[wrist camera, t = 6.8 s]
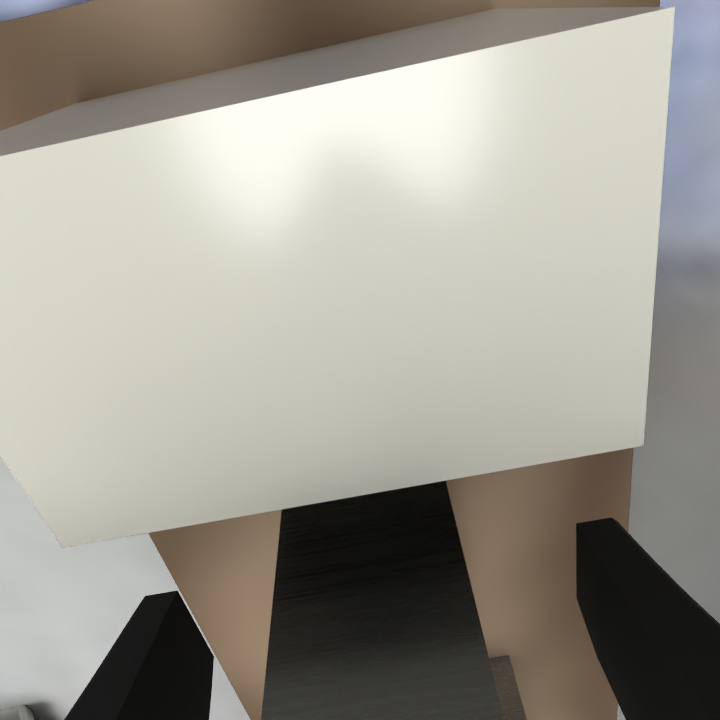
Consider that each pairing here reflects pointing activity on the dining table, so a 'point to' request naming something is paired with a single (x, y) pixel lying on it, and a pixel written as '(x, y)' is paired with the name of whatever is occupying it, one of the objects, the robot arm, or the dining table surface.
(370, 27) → the base board
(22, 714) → the tube
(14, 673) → the dining table surface
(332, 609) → the inner tube
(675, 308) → the dining table surface
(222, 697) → the dining table surface
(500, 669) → the sleeve
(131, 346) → the cream rectangular block
